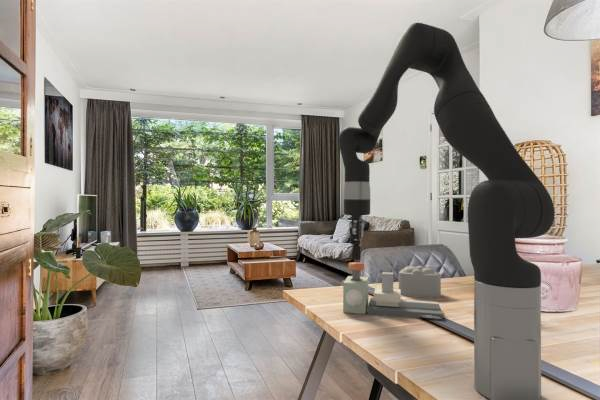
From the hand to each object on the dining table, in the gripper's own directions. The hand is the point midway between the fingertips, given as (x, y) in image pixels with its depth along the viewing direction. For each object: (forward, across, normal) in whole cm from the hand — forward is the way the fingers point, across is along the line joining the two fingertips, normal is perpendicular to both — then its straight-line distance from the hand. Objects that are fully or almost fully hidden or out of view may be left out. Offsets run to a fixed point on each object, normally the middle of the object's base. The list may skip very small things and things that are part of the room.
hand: (356, 259), depth 107 cm
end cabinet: (+14, 0, 0) cm, 14 cm away
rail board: (+14, 0, -13) cm, 19 cm away
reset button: (+8, 0, 0) cm, 8 cm away
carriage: (+12, 0, -9) cm, 15 cm away
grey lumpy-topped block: (+14, +24, -18) cm, 33 cm away
